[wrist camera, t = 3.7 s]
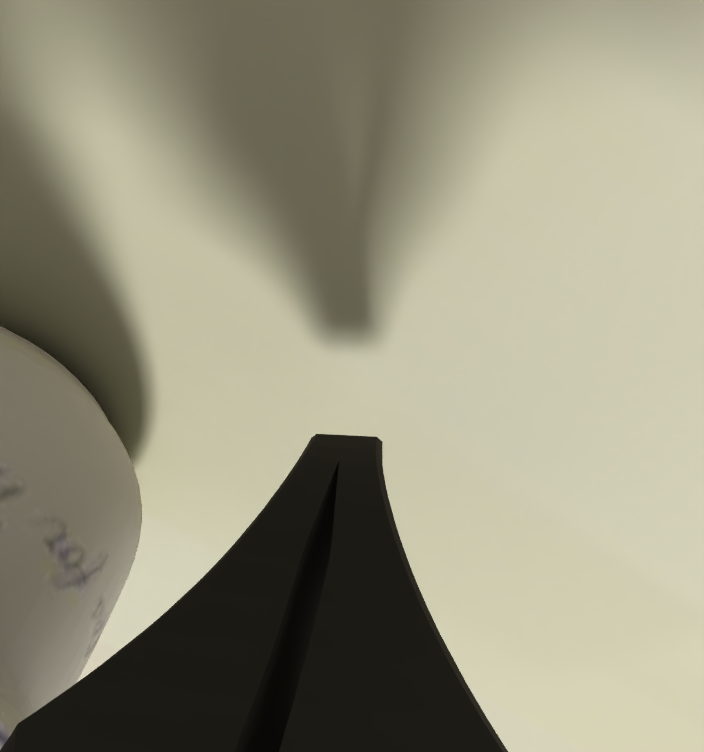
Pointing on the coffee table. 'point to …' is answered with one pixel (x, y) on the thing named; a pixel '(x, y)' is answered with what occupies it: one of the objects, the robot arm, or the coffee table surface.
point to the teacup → (56, 527)
